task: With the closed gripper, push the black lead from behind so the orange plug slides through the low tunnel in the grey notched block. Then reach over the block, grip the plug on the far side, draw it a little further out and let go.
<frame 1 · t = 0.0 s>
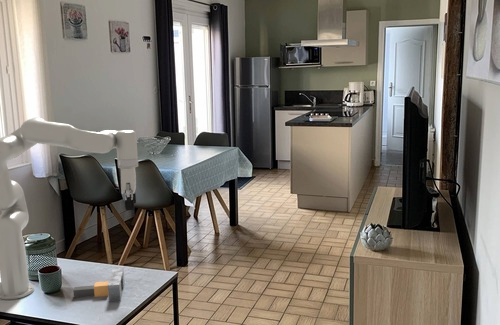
hand: (130, 206, 193), 31 cm above the table, tool pointing down, fingers open, 9 cm apart
cable plug: (102, 293, 189), on the table
grey notched block: (117, 292, 190), on the table
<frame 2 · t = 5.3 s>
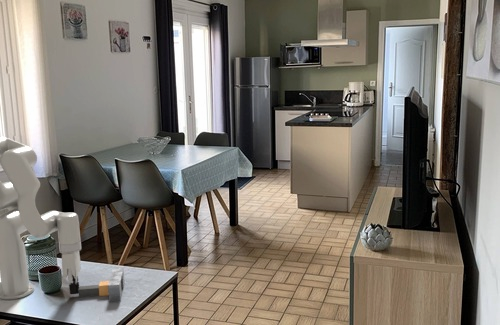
hand: (74, 293, 187), 1 cm above the table, tool pointing down, fingers closed
cable plug: (107, 293, 189), on the table, touching gripper
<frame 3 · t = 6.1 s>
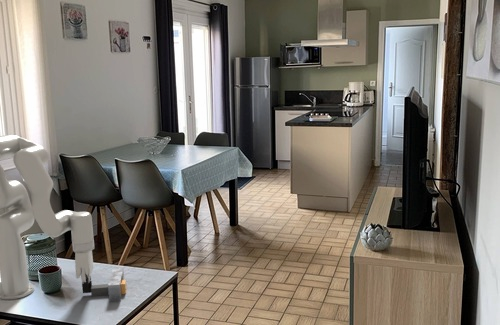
hand: (87, 291, 188), 1 cm above the table, tool pointing down, fingers closed
cable plug: (119, 292, 190), on the table, touching gripper
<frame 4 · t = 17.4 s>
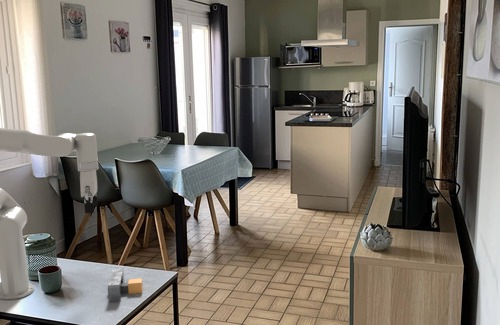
hand: (91, 209, 193), 30 cm above the table, tool pointing down, fingers open, 9 cm apart
cable plug: (135, 290, 191), on the table
at the end: cable plug 0.1 cm from the target spot, on the table; the gripper is holding nothing; cable plug tilted 0° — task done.
